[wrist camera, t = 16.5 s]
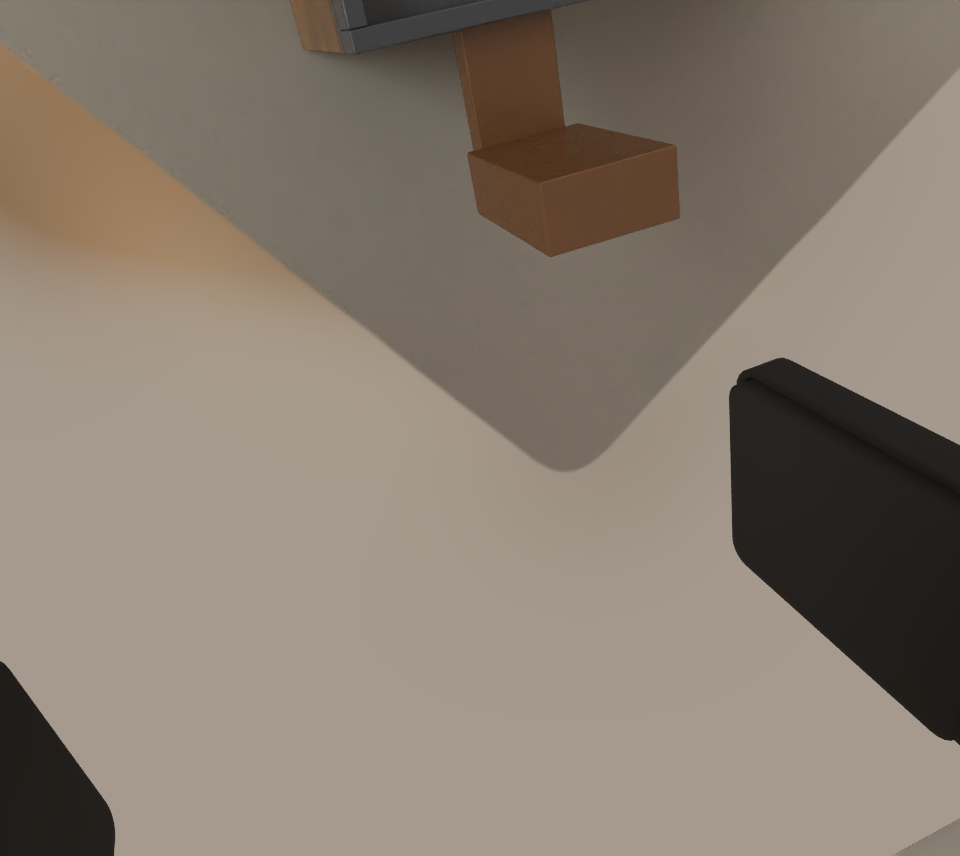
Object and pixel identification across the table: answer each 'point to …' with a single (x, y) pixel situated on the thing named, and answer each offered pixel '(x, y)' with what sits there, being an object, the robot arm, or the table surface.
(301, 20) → the stand
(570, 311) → the table surface
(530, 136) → the dark piece
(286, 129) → the table surface
